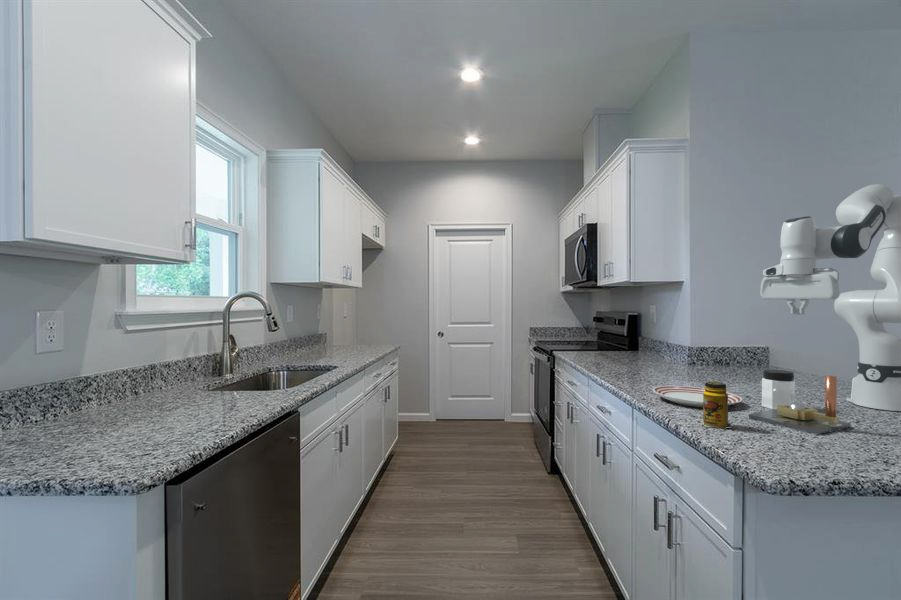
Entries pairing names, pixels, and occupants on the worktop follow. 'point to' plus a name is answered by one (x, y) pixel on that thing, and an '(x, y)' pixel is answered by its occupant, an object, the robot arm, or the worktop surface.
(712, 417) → the condiment
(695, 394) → the dinner plate
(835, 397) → the copper and beige l-shape
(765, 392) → the jar
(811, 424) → the post base
